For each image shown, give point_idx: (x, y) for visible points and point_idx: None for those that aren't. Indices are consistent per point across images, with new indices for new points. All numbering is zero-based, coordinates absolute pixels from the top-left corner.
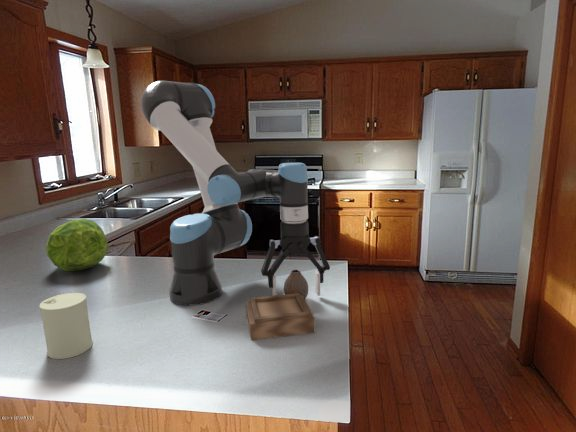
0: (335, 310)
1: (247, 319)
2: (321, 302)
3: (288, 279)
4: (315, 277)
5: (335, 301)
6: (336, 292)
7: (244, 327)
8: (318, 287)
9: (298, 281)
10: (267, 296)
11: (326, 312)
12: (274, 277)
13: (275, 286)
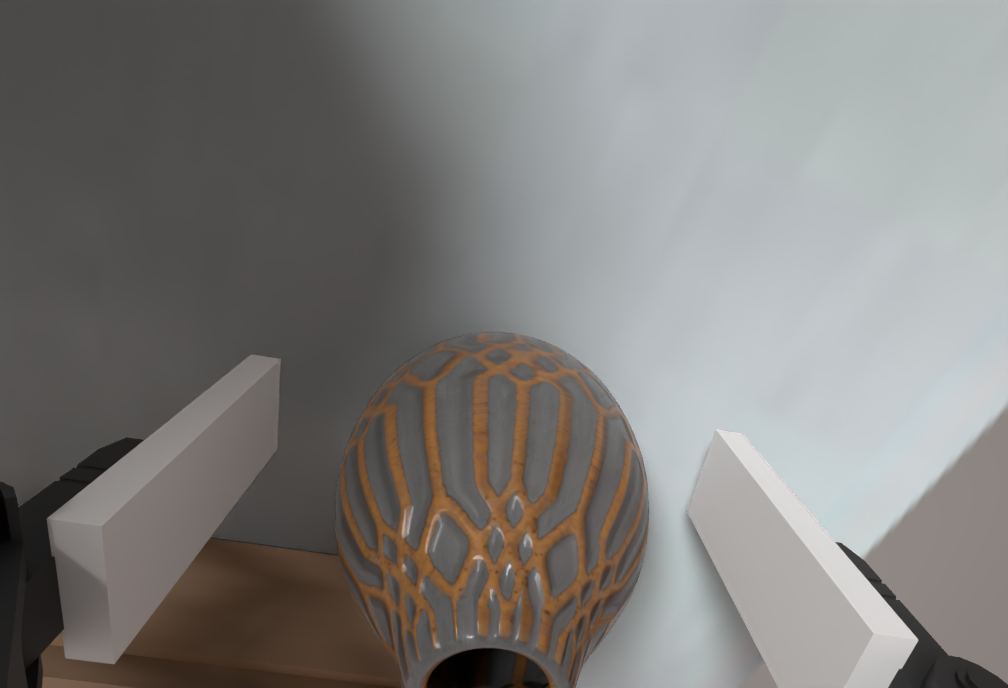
0: (692, 663)
1: None
2: (677, 526)
3: (362, 607)
4: (798, 565)
5: None
6: (931, 398)
7: None
8: (728, 576)
9: (481, 683)
10: (84, 685)
11: (618, 666)
12: (91, 657)
13: (192, 547)
